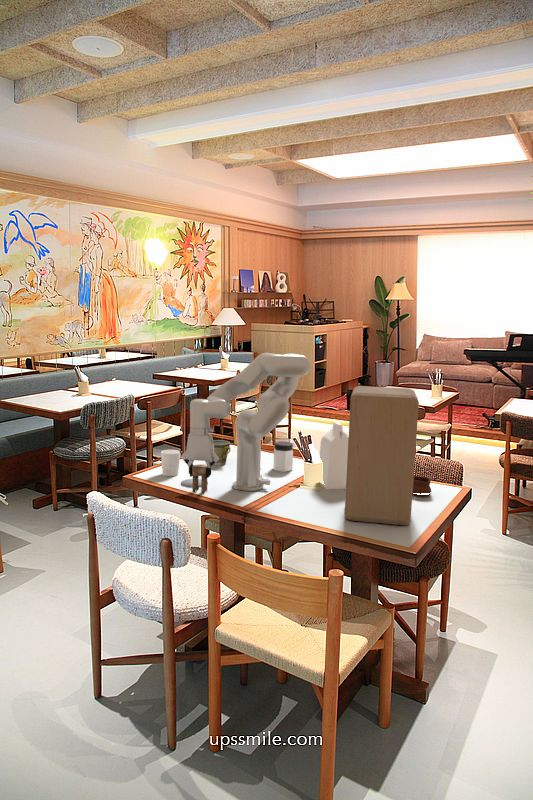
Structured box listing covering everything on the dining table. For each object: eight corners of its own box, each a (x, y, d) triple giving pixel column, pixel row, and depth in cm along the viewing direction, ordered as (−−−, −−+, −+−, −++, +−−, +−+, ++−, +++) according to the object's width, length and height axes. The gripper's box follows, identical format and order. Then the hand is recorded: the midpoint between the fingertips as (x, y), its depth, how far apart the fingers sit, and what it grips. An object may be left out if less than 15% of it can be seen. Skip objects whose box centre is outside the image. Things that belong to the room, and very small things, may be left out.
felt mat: (211, 481, 257) (211, 480, 257) (203, 488, 246) (203, 487, 246) (185, 478, 259) (185, 477, 259) (177, 486, 248) (177, 485, 248)
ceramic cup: (203, 462, 286) (203, 441, 284) (220, 459, 292) (220, 439, 291) (221, 468, 276) (221, 447, 275) (238, 465, 283) (238, 444, 281)
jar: (272, 466, 282) (272, 441, 280) (289, 466, 284) (290, 441, 282) (275, 472, 274) (276, 445, 272) (293, 471, 275) (294, 445, 273)
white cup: (181, 472, 268) (181, 450, 267) (177, 477, 261) (177, 454, 259) (163, 471, 269) (163, 449, 268) (158, 476, 261) (159, 453, 260)
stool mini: (209, 489, 244) (209, 465, 243) (205, 494, 239) (205, 469, 237) (194, 488, 246) (194, 464, 244) (190, 492, 240) (190, 467, 238)
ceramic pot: (433, 504, 235) (434, 486, 234) (389, 496, 245) (390, 478, 244) (448, 494, 250) (449, 477, 249) (406, 486, 260) (407, 470, 259)
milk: (317, 481, 262) (319, 420, 258) (342, 479, 265) (345, 420, 261) (326, 489, 250) (329, 426, 246) (353, 488, 253) (356, 425, 249)
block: (410, 528, 209) (419, 396, 202) (343, 522, 213) (350, 393, 206) (407, 507, 231) (415, 388, 224) (347, 502, 235) (353, 384, 228)
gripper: (224, 430, 240) (223, 475, 243) (181, 428, 244) (182, 472, 246) (218, 434, 233) (218, 480, 236) (175, 431, 236) (175, 477, 239)
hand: (199, 475), depth 241 cm, fingers closed on stool mini, 6 cm apart
